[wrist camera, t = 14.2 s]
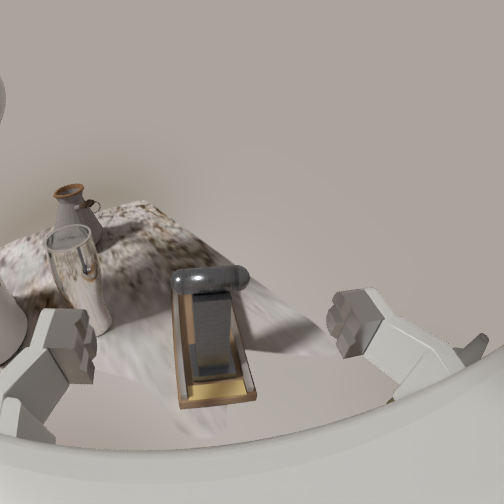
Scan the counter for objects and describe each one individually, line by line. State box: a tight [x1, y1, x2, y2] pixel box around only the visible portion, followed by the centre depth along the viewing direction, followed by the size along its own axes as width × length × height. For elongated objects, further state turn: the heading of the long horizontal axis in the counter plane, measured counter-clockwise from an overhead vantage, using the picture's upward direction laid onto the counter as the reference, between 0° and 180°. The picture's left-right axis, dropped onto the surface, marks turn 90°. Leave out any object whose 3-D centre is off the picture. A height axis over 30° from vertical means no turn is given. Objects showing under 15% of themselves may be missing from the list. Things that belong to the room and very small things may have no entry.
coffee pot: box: [54, 184, 103, 245], centre depth 50 cm, size 21×12×15 cm, turn 49°
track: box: [171, 271, 257, 409], centre depth 41 cm, size 9×24×2 cm, turn 13°
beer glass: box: [44, 224, 112, 337], centre depth 36 cm, size 7×7×15 cm
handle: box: [170, 265, 250, 383], centre depth 34 cm, size 7×12×14 cm, turn 13°
